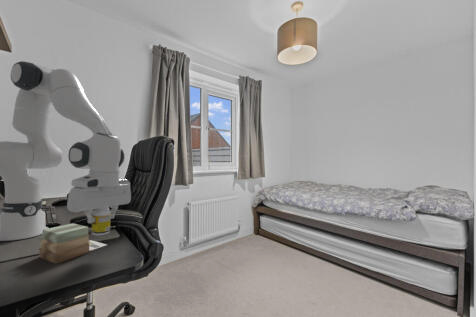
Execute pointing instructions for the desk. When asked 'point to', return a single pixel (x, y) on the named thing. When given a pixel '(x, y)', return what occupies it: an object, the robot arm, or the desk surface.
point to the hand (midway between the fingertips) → (101, 220)
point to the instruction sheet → (95, 245)
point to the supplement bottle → (101, 221)
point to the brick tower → (64, 242)
